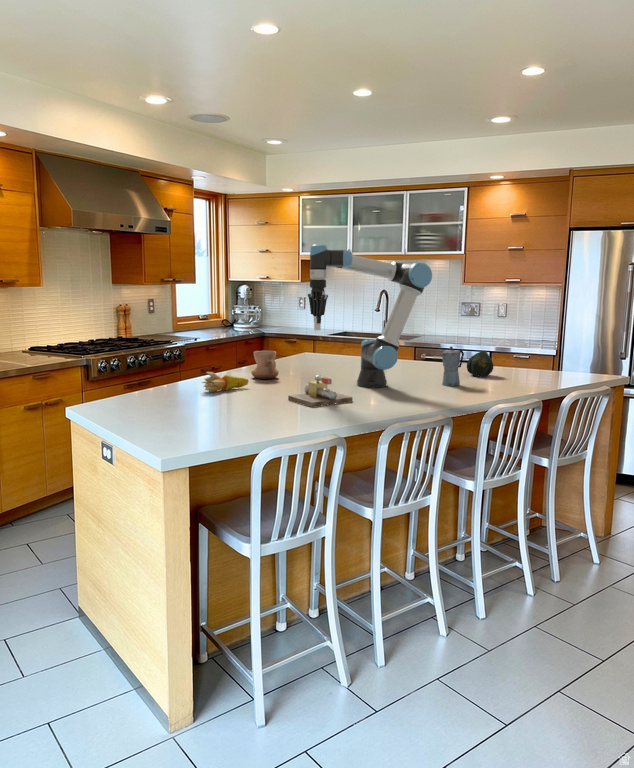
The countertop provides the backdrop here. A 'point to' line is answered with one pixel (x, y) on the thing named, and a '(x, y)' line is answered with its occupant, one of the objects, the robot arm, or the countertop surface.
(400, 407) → the countertop surface
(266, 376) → the ceramic jug
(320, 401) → the mounting board
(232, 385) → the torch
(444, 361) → the moka pot
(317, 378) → the valve lever
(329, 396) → the valve pipe
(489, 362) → the squash
